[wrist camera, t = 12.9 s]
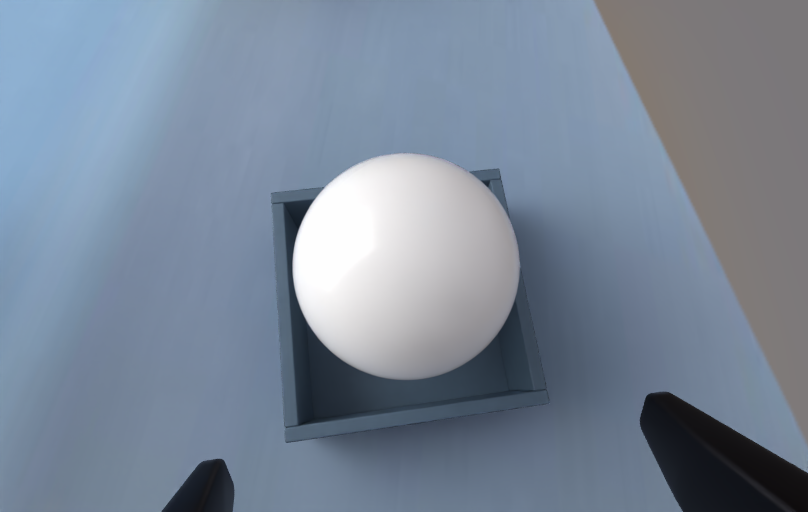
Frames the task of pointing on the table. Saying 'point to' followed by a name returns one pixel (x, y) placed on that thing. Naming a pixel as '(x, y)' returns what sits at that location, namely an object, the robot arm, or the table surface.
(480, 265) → the lightbulb
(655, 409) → the robot arm
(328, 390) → the case
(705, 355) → the table surface
